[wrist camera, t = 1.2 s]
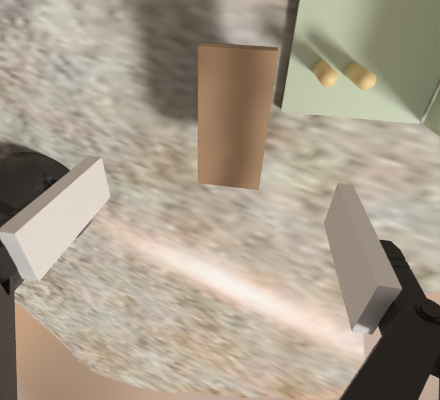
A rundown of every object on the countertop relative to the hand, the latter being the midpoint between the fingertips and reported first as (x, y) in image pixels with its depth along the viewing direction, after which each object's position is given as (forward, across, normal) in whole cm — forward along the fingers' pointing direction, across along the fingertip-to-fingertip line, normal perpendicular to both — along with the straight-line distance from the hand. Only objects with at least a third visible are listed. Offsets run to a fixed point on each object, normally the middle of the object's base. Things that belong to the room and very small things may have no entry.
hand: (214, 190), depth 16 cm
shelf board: (+12, 0, 0) cm, 13 cm away
